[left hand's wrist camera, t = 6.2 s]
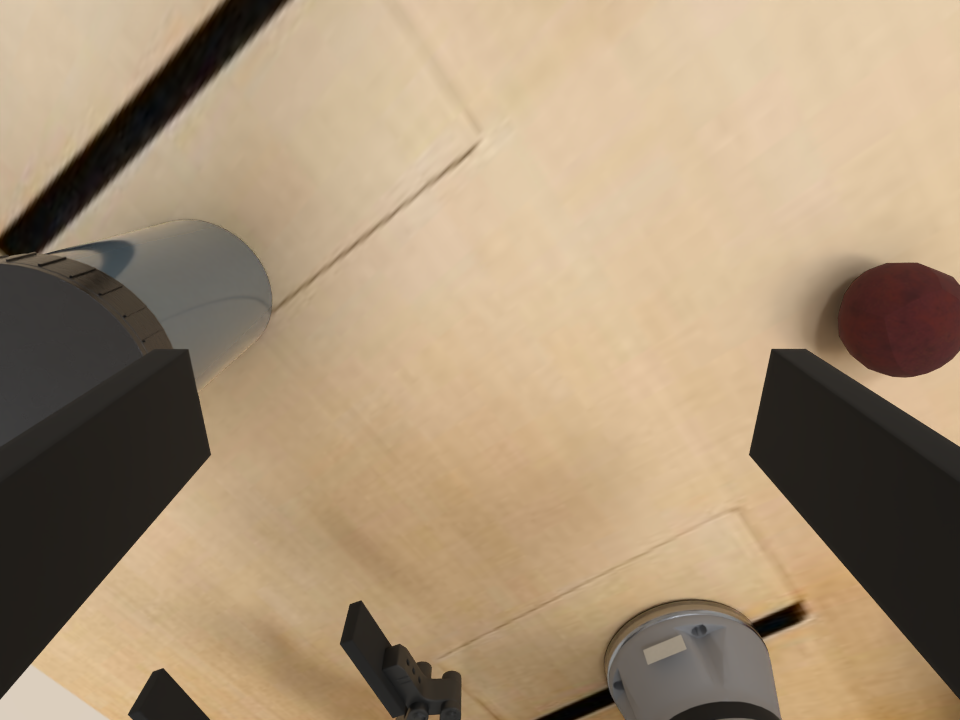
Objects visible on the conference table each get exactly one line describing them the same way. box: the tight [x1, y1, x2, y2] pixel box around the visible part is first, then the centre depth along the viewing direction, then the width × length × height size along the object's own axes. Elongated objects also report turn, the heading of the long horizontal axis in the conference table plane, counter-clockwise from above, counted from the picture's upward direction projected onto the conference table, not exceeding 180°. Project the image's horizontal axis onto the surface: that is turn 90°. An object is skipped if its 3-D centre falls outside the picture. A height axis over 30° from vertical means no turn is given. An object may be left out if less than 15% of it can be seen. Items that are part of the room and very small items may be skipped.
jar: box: [46, 219, 272, 393], centre depth 32 cm, size 10×10×16 cm
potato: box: [838, 263, 960, 377], centre depth 37 cm, size 7×8×7 cm
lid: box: [0, 252, 173, 447], centre depth 26 cm, size 11×11×2 cm
